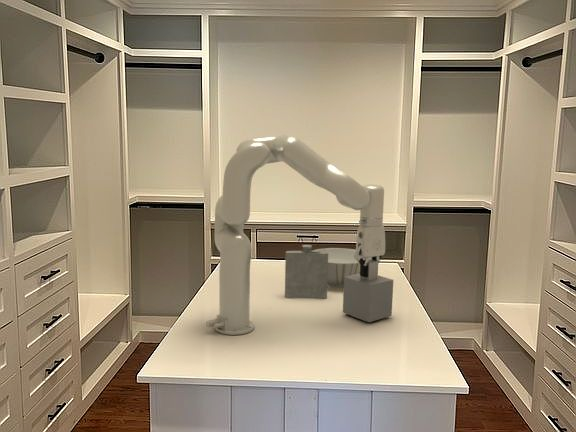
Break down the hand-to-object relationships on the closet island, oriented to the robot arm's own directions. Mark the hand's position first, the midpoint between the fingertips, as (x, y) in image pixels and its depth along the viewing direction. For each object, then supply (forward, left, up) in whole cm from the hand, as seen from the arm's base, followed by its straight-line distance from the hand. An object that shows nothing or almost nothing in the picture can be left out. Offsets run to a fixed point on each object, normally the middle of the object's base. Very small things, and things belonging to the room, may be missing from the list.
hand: (368, 274), depth 191 cm
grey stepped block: (0, 0, -14) cm, 14 cm away
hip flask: (-3, +29, -15) cm, 33 cm away
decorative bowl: (+20, +35, -15) cm, 43 cm away
